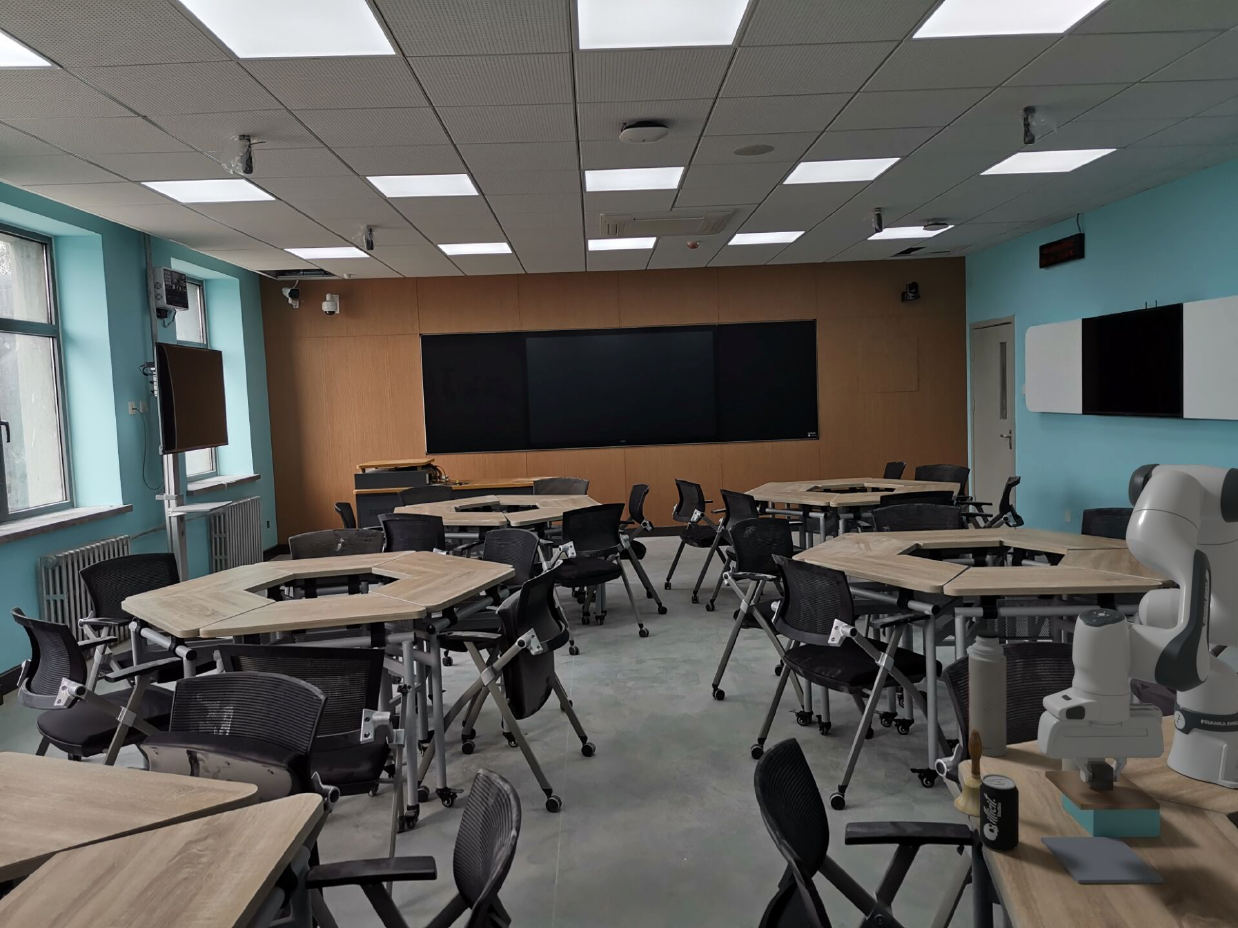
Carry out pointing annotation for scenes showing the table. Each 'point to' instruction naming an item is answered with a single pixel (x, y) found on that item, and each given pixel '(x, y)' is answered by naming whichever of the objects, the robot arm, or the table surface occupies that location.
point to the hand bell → (972, 780)
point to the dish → (1115, 821)
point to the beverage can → (999, 812)
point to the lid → (1101, 789)
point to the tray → (1100, 860)
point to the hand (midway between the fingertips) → (1099, 780)
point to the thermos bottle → (988, 692)
